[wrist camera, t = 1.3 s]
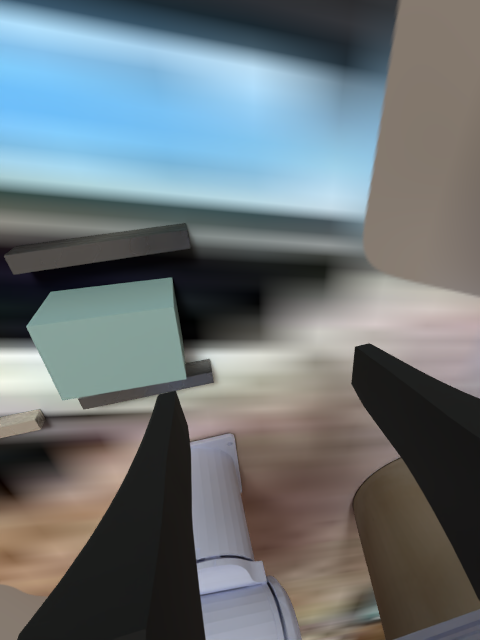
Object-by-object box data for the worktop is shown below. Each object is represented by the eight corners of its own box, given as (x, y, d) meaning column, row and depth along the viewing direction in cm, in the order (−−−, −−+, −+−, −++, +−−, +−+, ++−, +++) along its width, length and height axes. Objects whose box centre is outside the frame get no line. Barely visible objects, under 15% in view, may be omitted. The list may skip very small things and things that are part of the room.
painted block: (183, 341, 22) (186, 379, 18) (78, 357, 21) (62, 400, 17) (172, 276, 19) (173, 306, 16) (51, 290, 18) (26, 326, 15)
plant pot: (361, 416, 30) (650, 832, 12) (532, 413, 37) (876, 677, 19) (290, 544, 42) (384, 852, 24) (429, 524, 49) (583, 752, 31)
